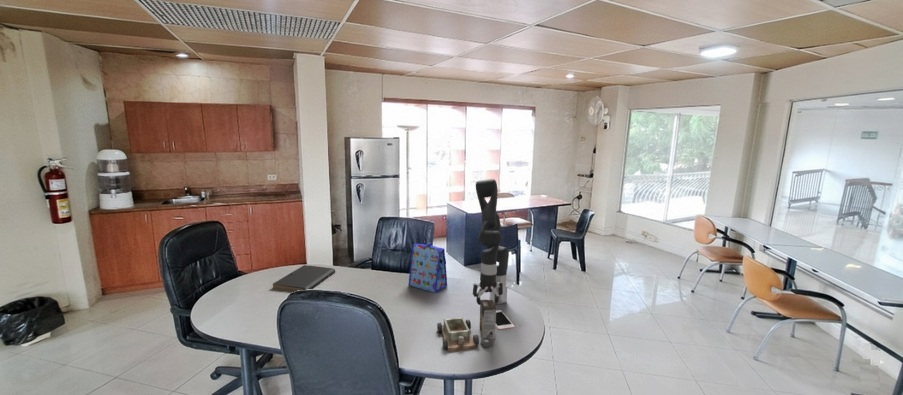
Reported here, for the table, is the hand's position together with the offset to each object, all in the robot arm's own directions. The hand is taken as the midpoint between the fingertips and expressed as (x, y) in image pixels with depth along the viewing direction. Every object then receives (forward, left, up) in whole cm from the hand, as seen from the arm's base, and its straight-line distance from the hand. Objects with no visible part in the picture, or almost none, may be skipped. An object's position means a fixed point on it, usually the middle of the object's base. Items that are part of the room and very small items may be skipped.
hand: (487, 303), depth 177 cm
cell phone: (-11, -12, -17) cm, 24 cm away
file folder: (+97, -85, -17) cm, 130 cm away
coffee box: (0, 0, -17) cm, 17 cm away
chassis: (+15, 0, -16) cm, 22 cm away
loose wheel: (+3, +9, -16) cm, 19 cm away
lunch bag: (+20, -61, -17) cm, 66 cm away
